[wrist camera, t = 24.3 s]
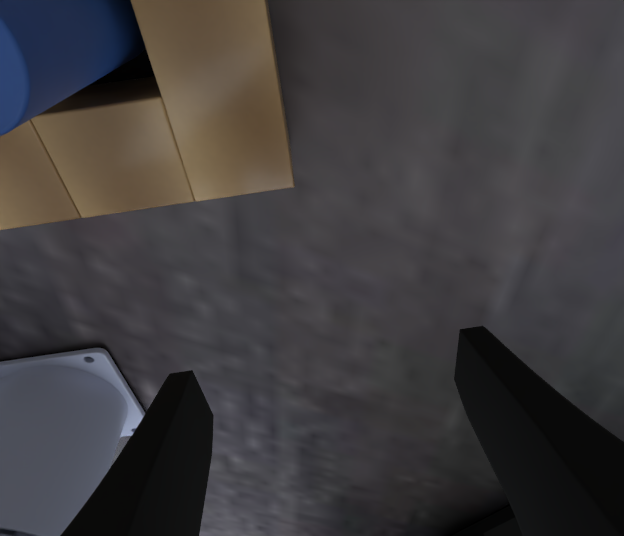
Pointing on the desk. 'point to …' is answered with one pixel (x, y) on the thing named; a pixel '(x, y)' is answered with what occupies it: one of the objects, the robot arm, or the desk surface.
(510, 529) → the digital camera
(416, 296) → the desk surface
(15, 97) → the handle
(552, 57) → the desk surface
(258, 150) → the holder
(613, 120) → the desk surface
